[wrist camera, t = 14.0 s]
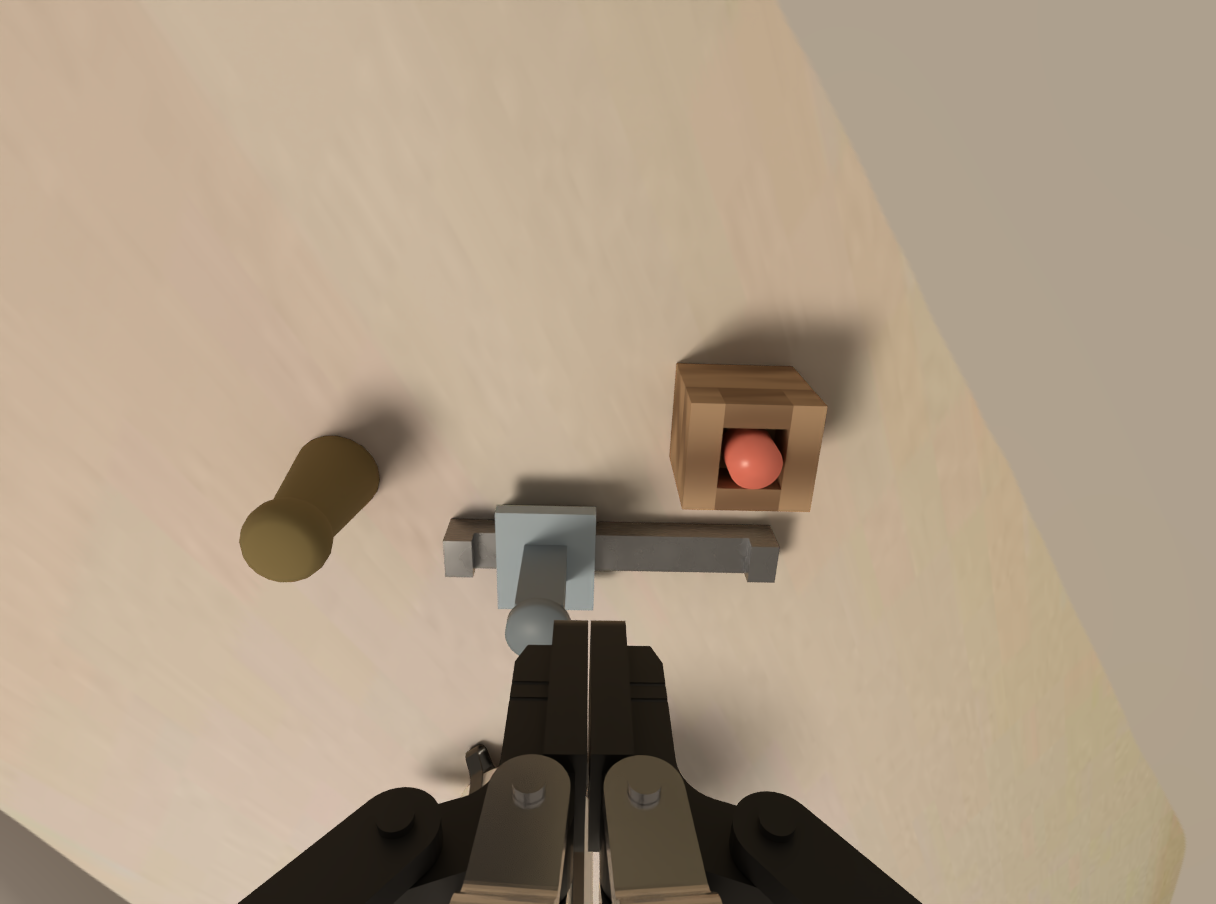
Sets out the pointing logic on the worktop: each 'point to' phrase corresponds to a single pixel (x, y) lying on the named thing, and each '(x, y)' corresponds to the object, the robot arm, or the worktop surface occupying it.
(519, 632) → the carriage
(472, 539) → the rail
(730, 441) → the button
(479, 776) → the coffee press
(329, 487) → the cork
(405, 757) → the worktop surface
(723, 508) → the cabinet
